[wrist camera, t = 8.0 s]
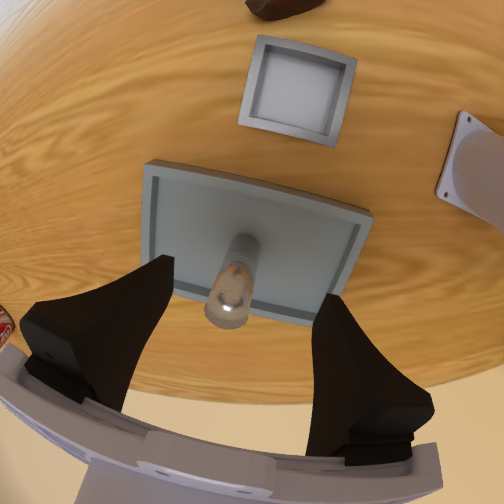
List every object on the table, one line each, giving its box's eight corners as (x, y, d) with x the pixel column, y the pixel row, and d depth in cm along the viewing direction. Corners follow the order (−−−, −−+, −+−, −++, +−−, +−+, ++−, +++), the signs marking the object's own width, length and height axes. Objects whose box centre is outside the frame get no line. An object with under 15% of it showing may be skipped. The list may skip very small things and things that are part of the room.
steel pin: (262, 236, 22) (250, 300, 15) (258, 263, 23) (245, 332, 16) (230, 231, 22) (204, 292, 15) (228, 259, 23) (204, 324, 16)
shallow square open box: (347, 66, 15) (357, 59, 12) (328, 142, 18) (334, 148, 16) (262, 45, 15) (257, 34, 12) (244, 122, 18) (237, 124, 16)
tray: (368, 210, 20) (374, 218, 19) (321, 317, 26) (322, 329, 25) (153, 159, 20) (144, 163, 19) (149, 275, 26) (142, 285, 25)
